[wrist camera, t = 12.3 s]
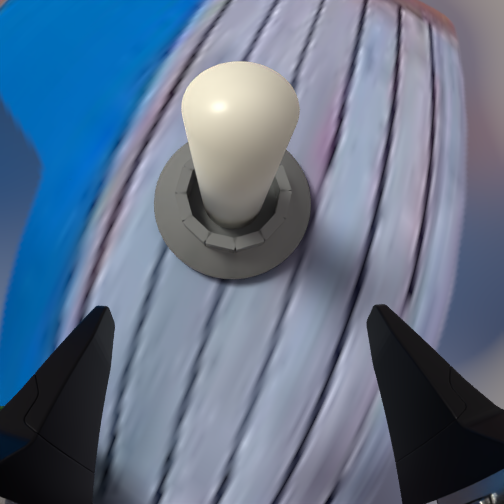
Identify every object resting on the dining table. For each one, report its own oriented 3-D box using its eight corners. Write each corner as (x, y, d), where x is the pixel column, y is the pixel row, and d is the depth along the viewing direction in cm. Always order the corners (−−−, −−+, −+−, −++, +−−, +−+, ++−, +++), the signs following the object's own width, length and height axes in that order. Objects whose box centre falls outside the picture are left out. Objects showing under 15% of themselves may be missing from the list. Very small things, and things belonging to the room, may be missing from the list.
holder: (236, 312, 24) (237, 315, 21) (126, 206, 24) (116, 196, 21) (336, 200, 25) (348, 191, 23) (230, 109, 26) (231, 92, 23)
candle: (217, 238, 23) (208, 174, 10) (194, 186, 24) (166, 82, 11) (271, 214, 24) (320, 132, 11) (246, 164, 24) (267, 51, 11)
